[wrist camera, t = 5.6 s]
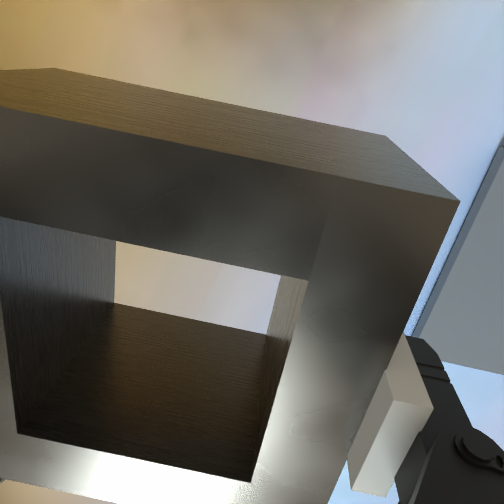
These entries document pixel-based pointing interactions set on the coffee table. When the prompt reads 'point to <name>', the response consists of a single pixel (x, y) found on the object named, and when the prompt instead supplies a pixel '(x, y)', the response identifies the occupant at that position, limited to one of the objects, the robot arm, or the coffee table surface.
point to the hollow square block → (184, 329)
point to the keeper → (472, 285)
